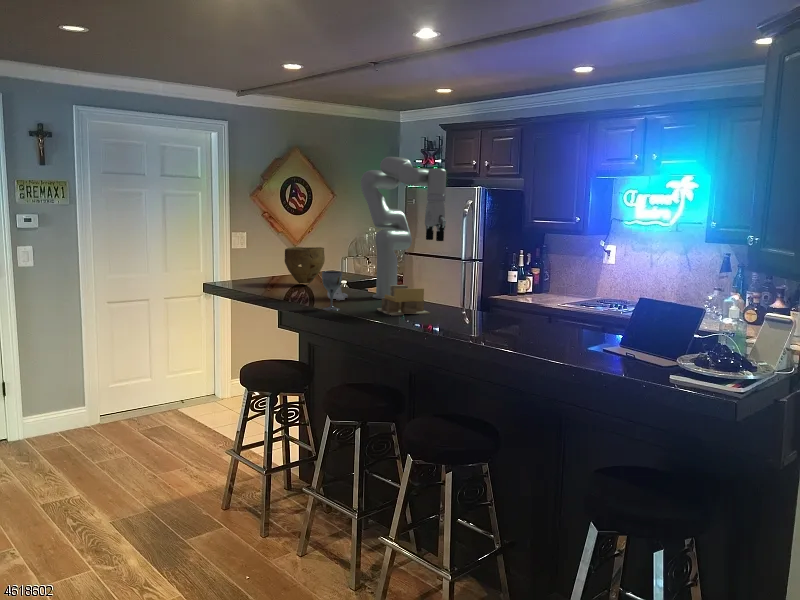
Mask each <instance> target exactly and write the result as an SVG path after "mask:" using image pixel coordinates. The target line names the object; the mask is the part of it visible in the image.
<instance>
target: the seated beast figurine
mask: <svg viewBox="0 0 800 600" xmlns="http://www.w3.org/2000/svg"><path fill="white" fill-rule="evenodd" d="M326 297H328V299H330V294H329V292H328V291H327V296H326ZM345 298H347V299H348V294H347V293H345V292H342V286H340V287H339V288H338V289H337V290H336V292H335V293H334V295H333V299H336V300H335V301H340V300H344V301H345Z"/></svg>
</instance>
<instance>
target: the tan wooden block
mask: <svg viewBox="0 0 800 600" xmlns="http://www.w3.org/2000/svg"><path fill="white" fill-rule="evenodd" d="M424 295H425V288H423V287H418V288H417V287H416V288H410V287H409V288H408V289H394V296H391V295H388V294H386V295H385V299H388V300H391V301H394V302H416V301H424V302H425V300H424V299H425V297H424Z"/></svg>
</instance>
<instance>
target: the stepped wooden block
mask: <svg viewBox="0 0 800 600" xmlns="http://www.w3.org/2000/svg"><path fill="white" fill-rule="evenodd" d="M408 287H409V286H408V285H405V284H397V285H390V295H391V296H394V289H409V288H408ZM376 311H378V312H381V313H383V314H386V315H388V316H390V315H391V316H405V315H404V314H419V315H431V312H430V311H427V310H425V300H424V301H416V302H394V301H391V300H388V299H385V298H382V299H381V307H378V308H376Z"/></svg>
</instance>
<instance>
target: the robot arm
mask: <svg viewBox="0 0 800 600" xmlns="http://www.w3.org/2000/svg"><path fill="white" fill-rule="evenodd" d="M379 167H380V170H378V169H371V170H370V169H369V170H367V171H365V172H364V173H363V174H362V176H361V179H360V187H361V192H362V194H363V197H364V199H365V200H366V201H365V202H366V204H367V205H368V206H367V207H368V210H369V213H370V216H371V220H372V223H373V226H375V228H376V229H380V230H378V232H376V234H375V237H374V238H375V239H374V241H375V246H376V247H375V248H376V283H375V284H376V285H375V287H376V288H375V293H373V294H372V298H374V299H378V300H379V299H380V300H382V298H385V295H386V294H388V295H390V285H398V266H399V265H398V257H397V255H396V253H395V251H405V250H408V249H409V248H410V247H411V246H412V242H413V237H412V233H411V230H410V227H409V224H408V221H407V217H406V214H405V213H404V212H403V210H401V209H400V208H390V207H389V206H388V204H387V201H386V198H385V197H384V195H383V194H382V192H381V191H380V190H394V189H396V188H397V187H398V186H400V185H401V184H404V185H408V186H411V187H423V188H427V191H426V192H427V193H426V206H425V213H424V214H425V215H424V225H425V240H427V241H433V240H434V233H435V232H436V233H435V234H436V235H435V241H436V242H444V241H445V231H446V230H445V229H446V224H447V220H446V208H445V203H446V192H447V191H446V189H447V188H446V187H447V170H446V169H444V168H439V167H438V168H436V167H435V168H433V167H432V168H425V167H424V168H421V167H414V166H413V164H412V163H411V161H410V160H409V159H408V158H406V157H400V156H386V157H384V158H383V159H382V160H381V161H380V165H379ZM434 227H435V228H436V231H434Z"/></svg>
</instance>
